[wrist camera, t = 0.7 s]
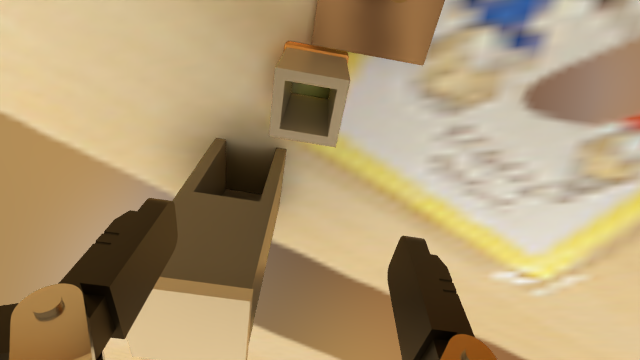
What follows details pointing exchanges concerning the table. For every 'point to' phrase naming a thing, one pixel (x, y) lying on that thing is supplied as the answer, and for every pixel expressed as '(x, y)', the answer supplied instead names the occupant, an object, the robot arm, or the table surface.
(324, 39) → the pin block
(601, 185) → the table surface
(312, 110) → the sleeve
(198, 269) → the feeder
